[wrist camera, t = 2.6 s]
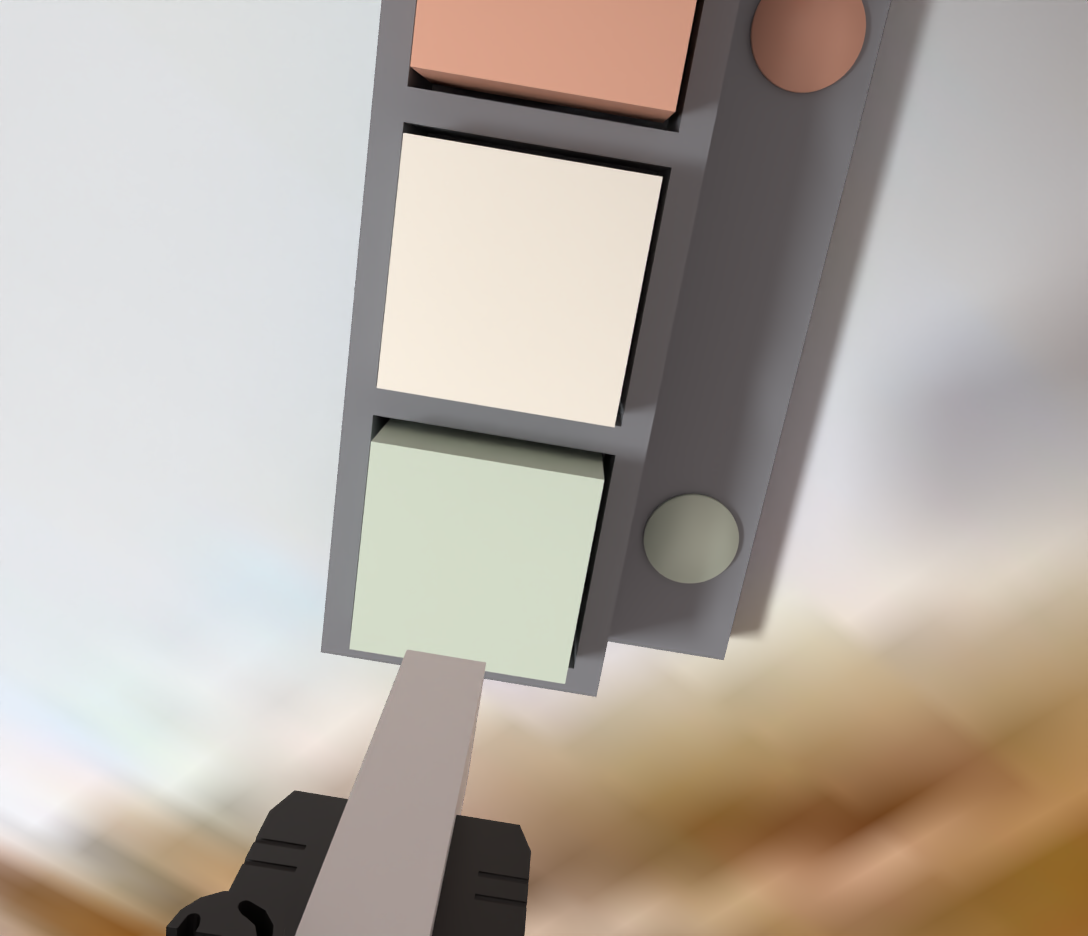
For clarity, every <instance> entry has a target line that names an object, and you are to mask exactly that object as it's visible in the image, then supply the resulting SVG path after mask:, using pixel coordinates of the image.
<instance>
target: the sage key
mask: <svg viewBox="0 0 1088 936" xmlns="http://www.w3.org/2000/svg"><path fill="white" fill-rule="evenodd" d="M603 484H604V471H603V461H602V453H600V452H594V451H588V450H582V449H576V448H570V447H564V446H558V445H552V444H546V443H540V442H534V441H527V440H521V439H515V438H509V437H503V436H497V435H491V434H485V433H479V432H473V431H467V430H461V429H455V428H449V427H443V426H437V425H431V424H425V423H419V422H413V421H407V420H401V419H395V418H391V419H390V420H389V421H388V422H387V423H386V424H385V426H384V427H383V428H382V429H381V430H380V432H379V433H378V434H377V435H376V436H375V437H374V439H373V440H372V441H371V447H370V457H369V466H368V476H367V485H366V495H365V505H364V514H363V524H362V533H361V543H360V552H359V562H358V571H357V581H356V591H355V600H354V610H353V619H352V629H351V638H350V648H349V649H352V650H358V651H364V652H370V653H377V654H383V655H389V656H395V657H401V658H404V655H405V653H406V650H414V651H420V652H426V653H432V654H438V655H444V656H450V657H456V658H462V659H468V660H474V661H480V662H486V667H485V671H488V672H494V673H500V674H506V675H512V676H519V677H525V678H531V679H537V680H543V681H550V682H556V683H562V684H565V682H566V676H567V671H568V666H569V661H570V656H571V650H572V645H573V640H574V635H575V630H576V624H577V619H578V614H579V609H580V604H581V599H582V593H583V588H584V583H585V578H586V573H587V567H588V562H589V557H590V552H591V547H592V541H593V536H594V531H595V526H596V521H597V515H598V510H599V505H600V500H601V495H602V490H603Z"/></svg>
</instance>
